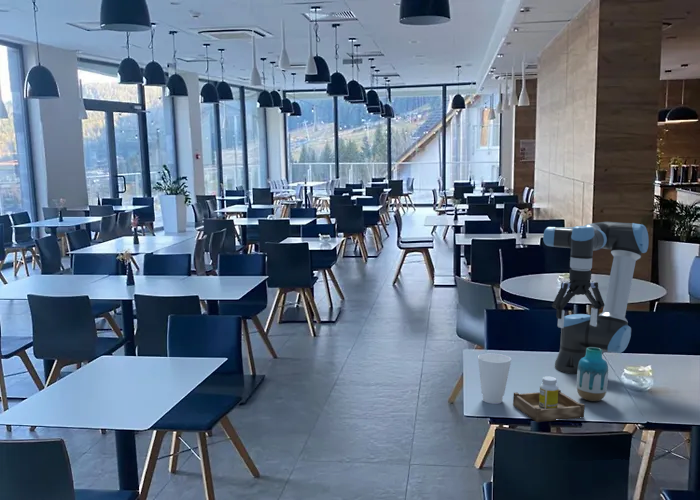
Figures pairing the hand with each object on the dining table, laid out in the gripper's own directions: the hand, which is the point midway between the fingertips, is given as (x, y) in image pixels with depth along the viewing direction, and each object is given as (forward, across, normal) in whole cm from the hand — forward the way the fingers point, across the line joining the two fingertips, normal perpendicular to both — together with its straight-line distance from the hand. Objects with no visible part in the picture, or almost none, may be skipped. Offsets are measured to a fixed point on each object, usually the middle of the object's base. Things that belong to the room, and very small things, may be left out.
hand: (577, 326), depth 243 cm
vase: (+27, -5, +4) cm, 28 cm away
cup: (+27, +31, -3) cm, 41 cm away
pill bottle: (+26, +17, +11) cm, 33 cm away
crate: (+27, +17, +11) cm, 34 cm away
